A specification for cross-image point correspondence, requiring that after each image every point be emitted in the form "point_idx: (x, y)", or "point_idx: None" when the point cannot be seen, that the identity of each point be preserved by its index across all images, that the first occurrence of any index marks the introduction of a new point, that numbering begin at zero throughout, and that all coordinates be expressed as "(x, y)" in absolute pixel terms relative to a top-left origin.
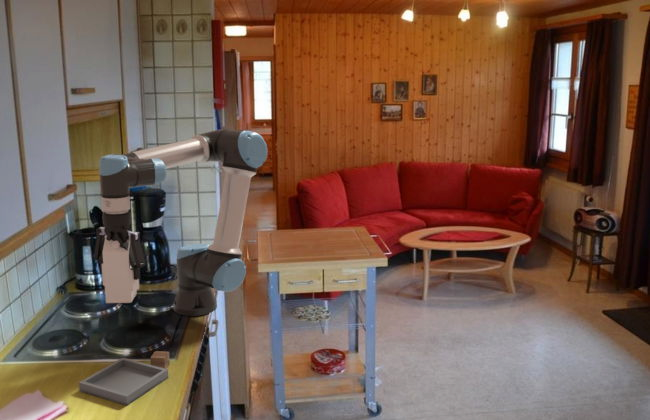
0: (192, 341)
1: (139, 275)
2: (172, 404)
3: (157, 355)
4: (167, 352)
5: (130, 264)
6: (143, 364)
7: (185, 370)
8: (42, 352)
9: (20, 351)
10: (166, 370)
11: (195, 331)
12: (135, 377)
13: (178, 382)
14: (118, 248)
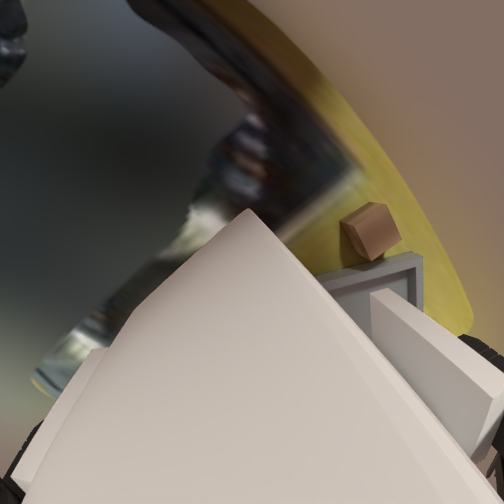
0: (310, 66)
1: (486, 355)
2: (465, 307)
3: (378, 241)
4: (386, 210)
5: (500, 495)
6: (361, 279)
7: (416, 201)
8: (69, 355)
9: (43, 373)
10: (422, 261)
11: (262, 19)
12: (362, 306)
13: (436, 250)
14: None
